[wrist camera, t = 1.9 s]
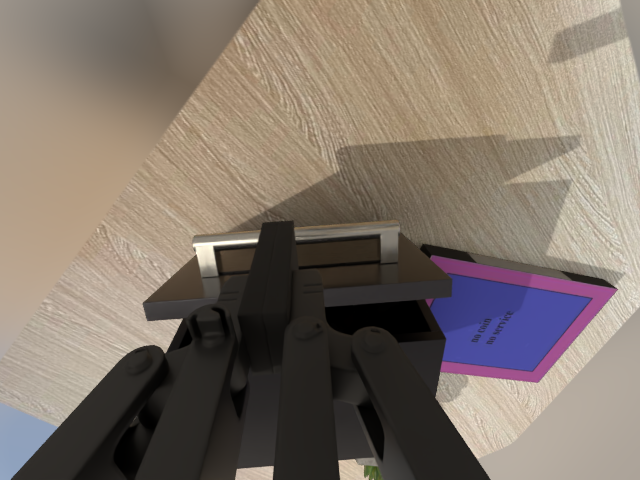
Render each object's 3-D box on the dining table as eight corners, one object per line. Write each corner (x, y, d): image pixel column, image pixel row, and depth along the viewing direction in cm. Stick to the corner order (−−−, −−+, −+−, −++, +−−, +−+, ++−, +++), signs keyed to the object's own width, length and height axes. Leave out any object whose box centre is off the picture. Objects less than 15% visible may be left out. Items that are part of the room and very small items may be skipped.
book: (538, 382, 54) (379, 365, 49) (526, 368, 57) (375, 350, 52) (618, 289, 45) (431, 255, 39) (600, 277, 47) (423, 243, 42)
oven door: (207, 210, 39) (129, 256, 22) (393, 196, 40) (455, 231, 23) (214, 250, 41) (146, 321, 24) (393, 236, 41) (451, 297, 24)
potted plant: (436, 404, 54) (428, 471, 58) (372, 374, 62) (369, 435, 66) (409, 451, 45) (402, 528, 49) (338, 409, 53) (336, 478, 56)
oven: (215, 251, 41) (161, 361, 26) (392, 237, 41) (446, 339, 26) (241, 345, 50) (211, 471, 34) (387, 333, 50) (424, 453, 34)
